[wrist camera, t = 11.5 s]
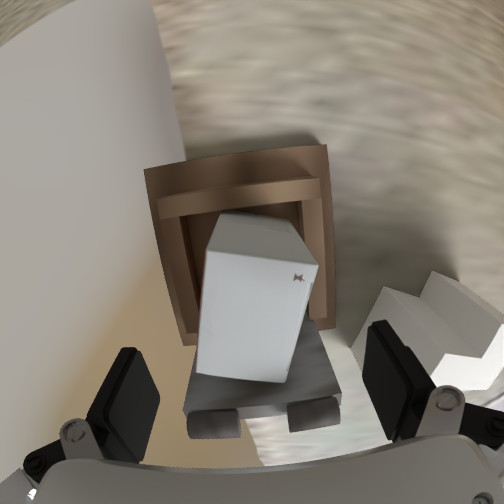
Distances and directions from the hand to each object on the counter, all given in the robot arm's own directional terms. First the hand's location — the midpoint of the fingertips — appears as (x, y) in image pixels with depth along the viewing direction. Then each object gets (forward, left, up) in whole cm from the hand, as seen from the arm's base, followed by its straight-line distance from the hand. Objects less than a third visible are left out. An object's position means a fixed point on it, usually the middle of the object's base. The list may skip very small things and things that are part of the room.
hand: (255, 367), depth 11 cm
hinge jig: (0, 0, -16) cm, 16 cm away
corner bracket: (-17, +10, -16) cm, 25 cm away
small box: (0, 0, -15) cm, 15 cm away
